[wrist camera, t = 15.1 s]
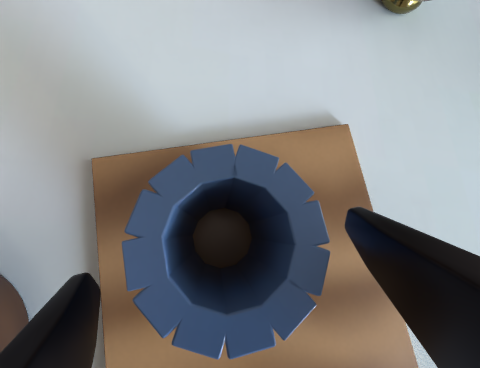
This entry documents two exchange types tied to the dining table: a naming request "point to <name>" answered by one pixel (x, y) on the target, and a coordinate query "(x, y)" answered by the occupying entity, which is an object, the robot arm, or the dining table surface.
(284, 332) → the sleeve
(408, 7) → the cup
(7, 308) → the stand
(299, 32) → the dining table surface
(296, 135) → the wooden board
